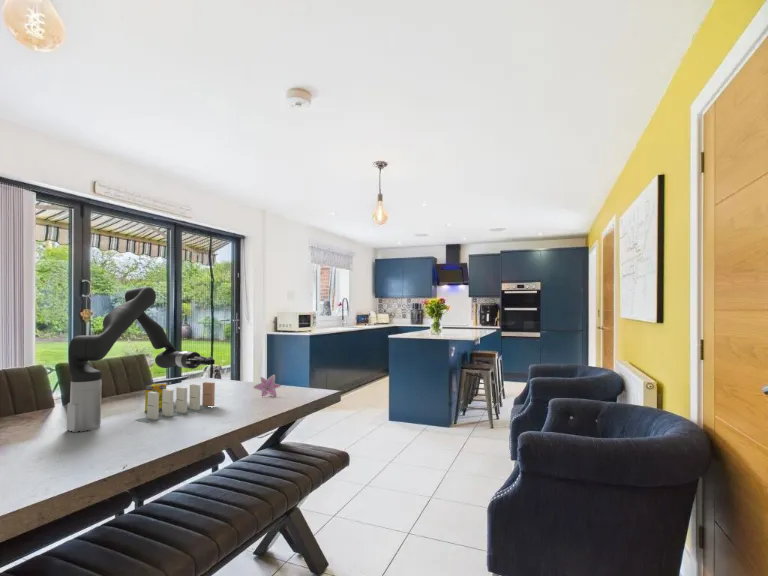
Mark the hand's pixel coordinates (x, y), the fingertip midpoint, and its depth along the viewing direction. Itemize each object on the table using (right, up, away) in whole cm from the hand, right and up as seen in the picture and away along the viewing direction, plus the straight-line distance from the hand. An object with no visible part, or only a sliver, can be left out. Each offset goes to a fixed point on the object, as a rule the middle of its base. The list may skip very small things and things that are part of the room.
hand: (212, 362), depth 186 cm
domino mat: (-9, -19, -11) cm, 24 cm away
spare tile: (-2, -19, +1) cm, 20 cm away
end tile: (-15, -18, -20) cm, 31 cm away
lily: (+18, -21, +23) cm, 36 cm away
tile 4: (-12, -19, -15) cm, 27 cm away
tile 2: (-6, -19, -4) cm, 20 cm away
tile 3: (-9, -19, -10) cm, 23 cm away
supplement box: (-21, -20, -7) cm, 30 cm away
